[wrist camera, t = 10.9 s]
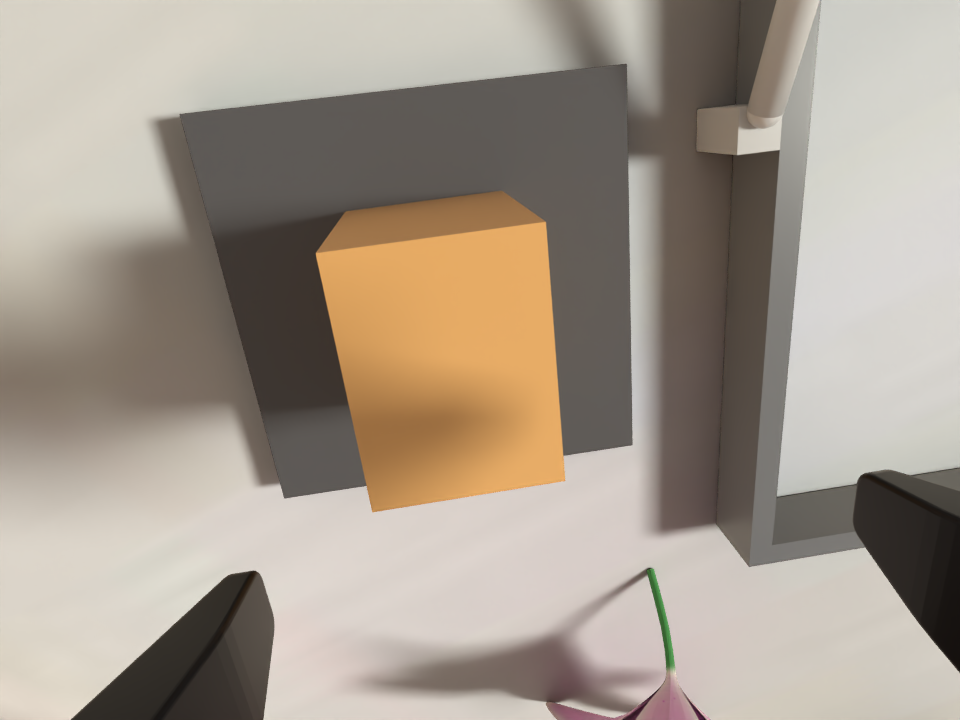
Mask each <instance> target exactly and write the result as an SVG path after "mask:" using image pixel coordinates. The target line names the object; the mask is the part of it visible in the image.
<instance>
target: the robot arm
mask: <svg viewBox="0 0 960 720" xmlns="http://www.w3.org/2000/svg"><path fill="white" fill-rule="evenodd" d="M852 520H853V526H854V530H855V532H856V534H857V536H858V537H859V539H860V540H861V542H862V543H863V545H864V546H865V547H866V549H867V550H868V552H869V553H870V555H871V556H872V557H873V559H874V560H875V562H876V563H877V565H878V566H879V568H880V569H881V570H882V572H883V573H884V575H885V576H886V578H887V579H888V580H889V582H890V583H891V585H892V586H893V588H894V589H895V590H896V592H897V593H898V595H899V596H900V598H901V599H902V601H903V602H904V603H905V605H906V606H907V608H908V609H909V610H910V612H911V613H912V615H913V616H914V617H915V619H916V620H917V621H918V623H919V624H920V625H921V627H922V628H923V629H924V630H925V632H926V633H927V634H928V635H929V637H930V638H931V639H932V640H933V641H934V643H935V644H936V645H937V646H938V647H939V649H940V650H941V651H942V652H943V653H944V655H945V656H946V657H947V658H948V659H949V660H950V662H951V663H952V664H953V665H954V666H955V668H956V669H957V670H958V671H959V672H960V491H959V490H956V489H952V488H949V487H946V486H942V485H939V484H936V483H933V482H929V481H926V480H923V479H919V478H916V477H913V476H910V475H906V474H903V473H900V472H897V471H893V470H881V471H875V472H869V473H864V474H863V475H861V476H860V477H859V479H858V481H857V487H856V494H855V502H854V509H853V517H852ZM273 637H274V617H273V612H272V609H271V606H270V602H269V599H268V596H267V593H266V589H265V586H264V583H263V580H262V577H261V576H260V574H259V573H258V572H256V571H248V572H242V573H235V574H230V575H228V576H227V577H225V578H224V579H223V580H222V581H221V582H220V583H219V584H217V585H216V586H215V587H214V588H213V589H212V590H211V591H210V592H209V593H208V594H207V595H206V596H204V597H203V598H202V599H201V600H200V601H199V602H198V603H197V604H196V605H195V606H194V607H193V608H191V609H190V610H189V611H188V612H187V613H186V614H185V615H184V616H183V617H182V618H181V619H179V620H178V621H177V622H176V623H175V624H174V625H173V626H172V627H171V628H170V629H169V630H168V631H166V632H165V633H164V634H163V635H162V636H161V637H160V638H159V639H158V640H157V641H156V642H155V643H153V644H152V645H151V646H150V647H149V648H148V649H147V650H146V651H145V652H144V653H143V654H141V655H140V656H139V657H138V658H137V659H136V660H135V661H134V662H133V663H132V664H131V665H130V666H128V667H127V668H126V669H125V670H124V671H123V672H122V673H121V674H120V675H119V676H118V677H117V678H115V679H114V680H113V681H112V682H111V683H110V684H109V685H108V686H107V687H106V688H105V689H104V690H102V691H101V692H100V693H99V694H98V695H97V696H96V697H95V698H94V699H93V700H92V701H90V702H89V703H88V704H87V705H86V706H85V707H84V708H83V709H82V710H81V711H80V712H79V713H77V714H76V715H75V716H74V717H73V718H72V719H71V720H263V718H264V710H265V702H266V694H267V686H268V678H269V670H270V661H271V653H272V645H273Z"/></svg>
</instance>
